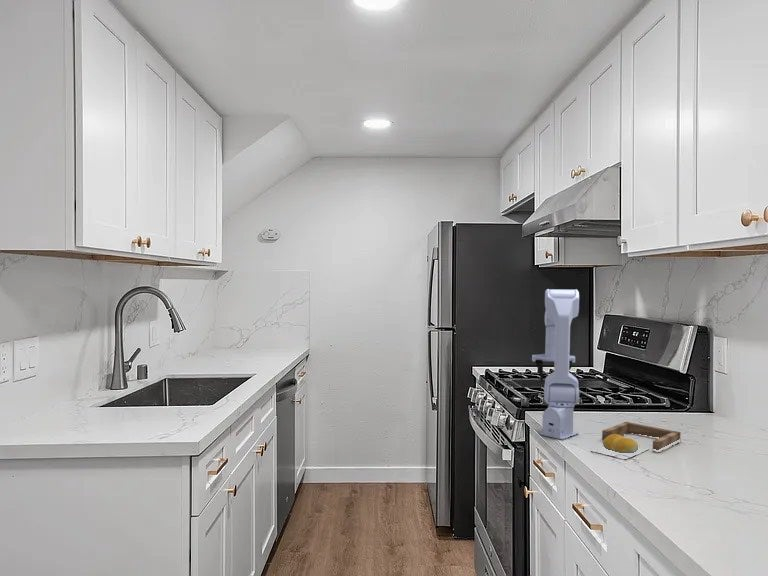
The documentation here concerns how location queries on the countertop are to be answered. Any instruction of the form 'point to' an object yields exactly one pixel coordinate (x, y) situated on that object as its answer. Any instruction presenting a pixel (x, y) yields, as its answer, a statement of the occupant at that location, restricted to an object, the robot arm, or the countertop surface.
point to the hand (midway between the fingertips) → (552, 381)
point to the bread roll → (620, 444)
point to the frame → (644, 433)
